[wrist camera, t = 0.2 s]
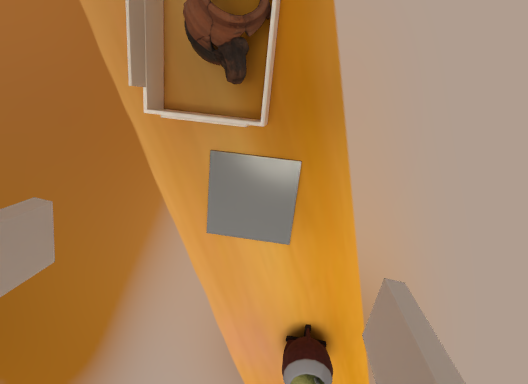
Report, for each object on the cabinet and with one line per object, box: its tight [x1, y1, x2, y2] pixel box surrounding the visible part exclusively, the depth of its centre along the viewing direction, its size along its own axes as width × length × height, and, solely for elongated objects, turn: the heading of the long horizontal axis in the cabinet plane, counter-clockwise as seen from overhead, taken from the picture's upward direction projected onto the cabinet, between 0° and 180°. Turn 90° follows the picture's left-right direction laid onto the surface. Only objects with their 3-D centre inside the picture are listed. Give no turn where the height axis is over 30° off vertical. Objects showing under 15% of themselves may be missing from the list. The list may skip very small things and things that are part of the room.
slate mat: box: [207, 150, 301, 245], centre depth 39 cm, size 12×12×1 cm
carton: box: [126, 0, 280, 127], centre depth 31 cm, size 18×14×7 cm
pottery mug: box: [183, 0, 271, 84], centre depth 31 cm, size 12×9×8 cm
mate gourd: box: [282, 325, 333, 384], centre depth 38 cm, size 8×8×15 cm
